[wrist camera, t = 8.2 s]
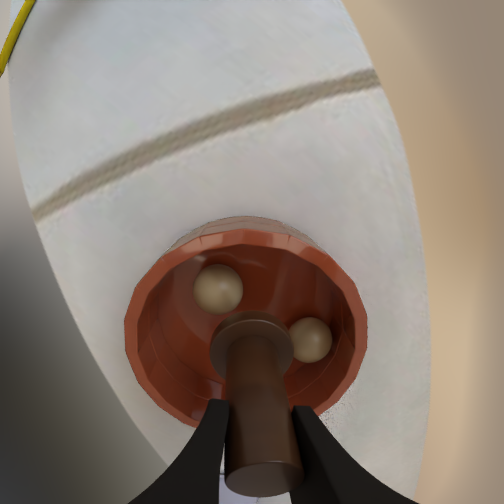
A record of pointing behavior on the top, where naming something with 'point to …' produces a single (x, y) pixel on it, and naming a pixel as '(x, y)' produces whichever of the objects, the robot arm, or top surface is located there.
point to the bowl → (254, 298)
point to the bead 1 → (217, 289)
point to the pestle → (257, 404)
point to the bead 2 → (310, 339)
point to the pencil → (14, 34)
